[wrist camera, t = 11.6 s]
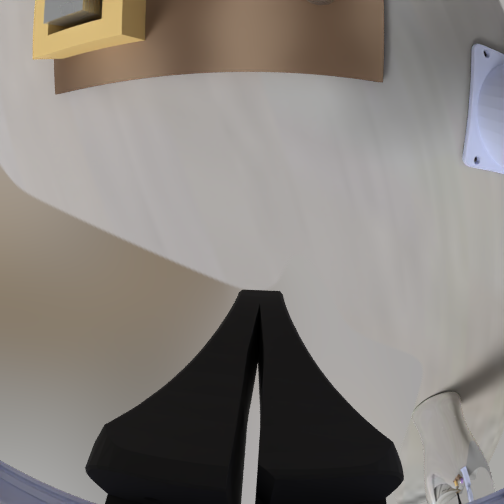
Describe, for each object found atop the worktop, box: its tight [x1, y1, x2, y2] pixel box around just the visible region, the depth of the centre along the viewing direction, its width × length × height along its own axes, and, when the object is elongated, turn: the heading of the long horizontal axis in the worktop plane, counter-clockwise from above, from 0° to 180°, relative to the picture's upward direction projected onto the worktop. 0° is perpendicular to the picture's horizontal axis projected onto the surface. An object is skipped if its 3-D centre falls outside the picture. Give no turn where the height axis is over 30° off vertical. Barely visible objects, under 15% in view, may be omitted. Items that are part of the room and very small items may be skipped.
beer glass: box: [412, 391, 495, 504], centre depth 22 cm, size 7×7×15 cm
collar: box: [33, 0, 146, 59], centre depth 11 cm, size 6×6×3 cm
